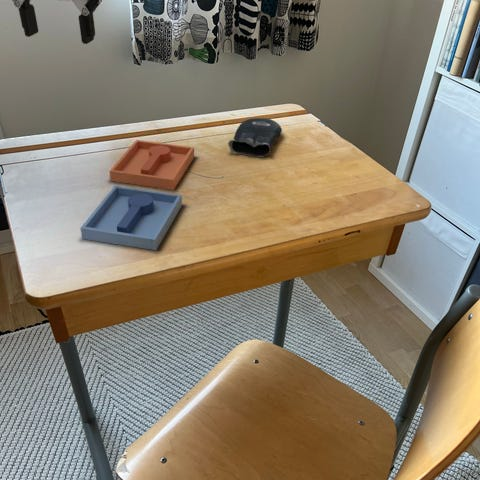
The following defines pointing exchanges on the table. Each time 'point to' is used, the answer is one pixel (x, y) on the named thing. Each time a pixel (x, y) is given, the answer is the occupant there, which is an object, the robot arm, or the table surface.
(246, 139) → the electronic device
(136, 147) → the terracotta tray
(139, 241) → the blue tray
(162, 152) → the spoon terracotta
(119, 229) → the dark blue paddle
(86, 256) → the table surface
